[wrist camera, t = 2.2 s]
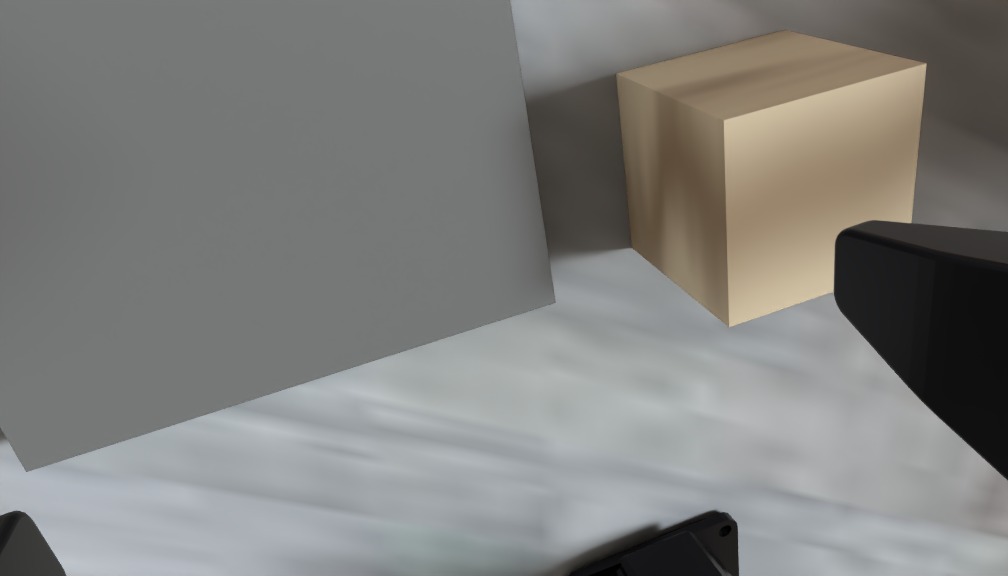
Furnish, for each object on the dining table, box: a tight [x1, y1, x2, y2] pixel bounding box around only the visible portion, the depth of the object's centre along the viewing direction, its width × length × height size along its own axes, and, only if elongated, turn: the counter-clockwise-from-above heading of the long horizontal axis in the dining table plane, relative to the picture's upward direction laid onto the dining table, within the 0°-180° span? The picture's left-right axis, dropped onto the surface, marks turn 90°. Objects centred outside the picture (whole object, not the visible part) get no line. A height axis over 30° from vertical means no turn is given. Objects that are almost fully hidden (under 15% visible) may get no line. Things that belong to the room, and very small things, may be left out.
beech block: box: [616, 30, 927, 327], centre depth 20 cm, size 5×5×5 cm
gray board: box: [0, 0, 556, 472], centre depth 17 cm, size 13×13×2 cm
